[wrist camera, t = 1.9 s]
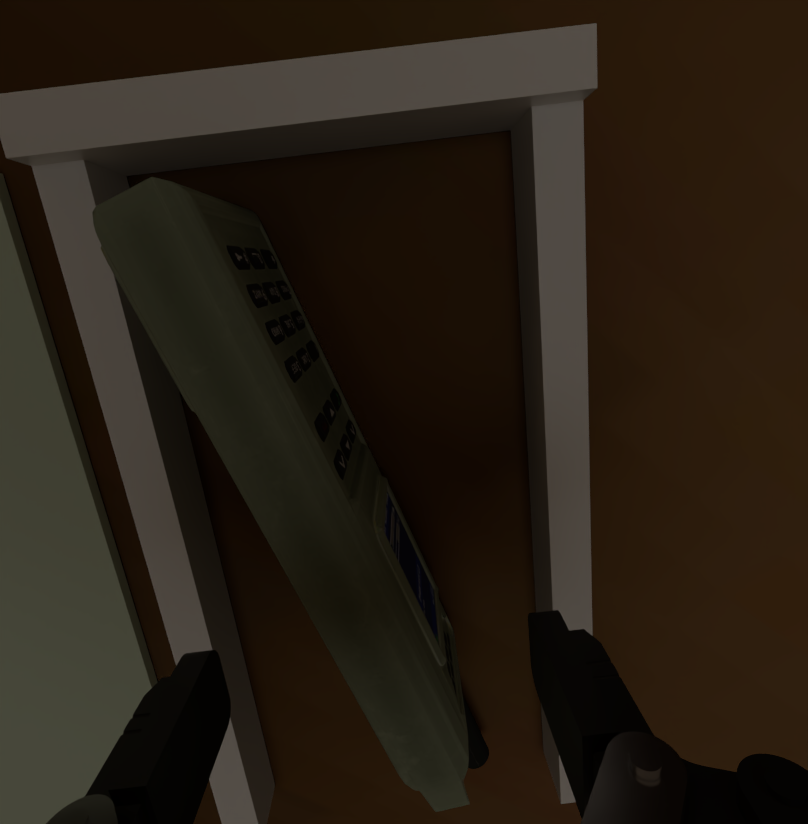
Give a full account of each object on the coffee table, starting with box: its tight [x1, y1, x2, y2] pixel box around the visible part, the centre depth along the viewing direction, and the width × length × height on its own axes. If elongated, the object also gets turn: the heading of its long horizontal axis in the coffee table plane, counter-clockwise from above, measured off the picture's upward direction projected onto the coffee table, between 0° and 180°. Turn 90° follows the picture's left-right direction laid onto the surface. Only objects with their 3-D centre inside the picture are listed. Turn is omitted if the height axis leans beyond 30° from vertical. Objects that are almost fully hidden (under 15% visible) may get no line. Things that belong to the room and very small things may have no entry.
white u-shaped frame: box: [0, 23, 597, 824], centre depth 19 cm, size 16×28×4 cm, turn 7°
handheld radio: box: [92, 177, 489, 812], centre depth 18 cm, size 7×3×25 cm
